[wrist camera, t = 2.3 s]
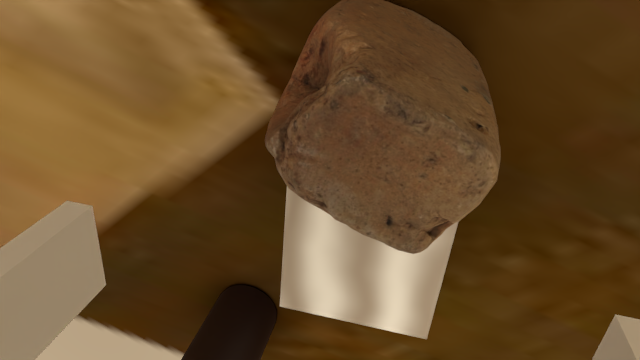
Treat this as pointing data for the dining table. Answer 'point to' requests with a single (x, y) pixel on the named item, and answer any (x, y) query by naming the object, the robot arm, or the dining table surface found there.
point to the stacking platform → (358, 273)
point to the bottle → (235, 326)
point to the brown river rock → (386, 125)
